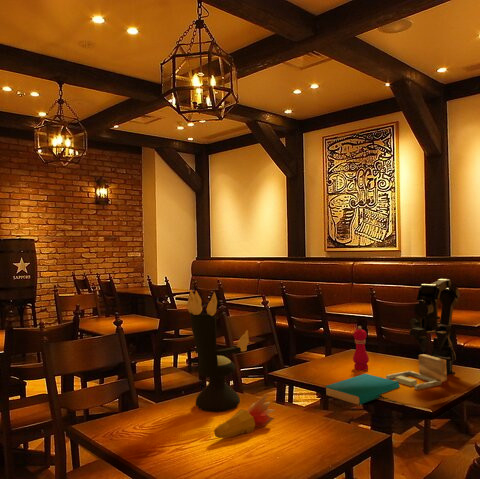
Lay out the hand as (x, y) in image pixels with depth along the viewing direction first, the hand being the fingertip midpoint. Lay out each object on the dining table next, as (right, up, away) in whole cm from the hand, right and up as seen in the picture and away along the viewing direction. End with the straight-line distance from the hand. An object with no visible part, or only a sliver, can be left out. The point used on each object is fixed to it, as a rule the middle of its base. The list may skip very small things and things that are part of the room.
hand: (431, 350), depth 204 cm
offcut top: (-13, -12, -6) cm, 19 cm away
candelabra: (-90, -16, -22) cm, 94 cm away
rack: (-9, -13, -4) cm, 16 cm away
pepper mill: (-24, -14, +23) cm, 36 cm away
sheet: (+1, -13, 0) cm, 13 cm away
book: (-32, -15, -12) cm, 37 cm away
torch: (-79, -16, -46) cm, 93 cm away
